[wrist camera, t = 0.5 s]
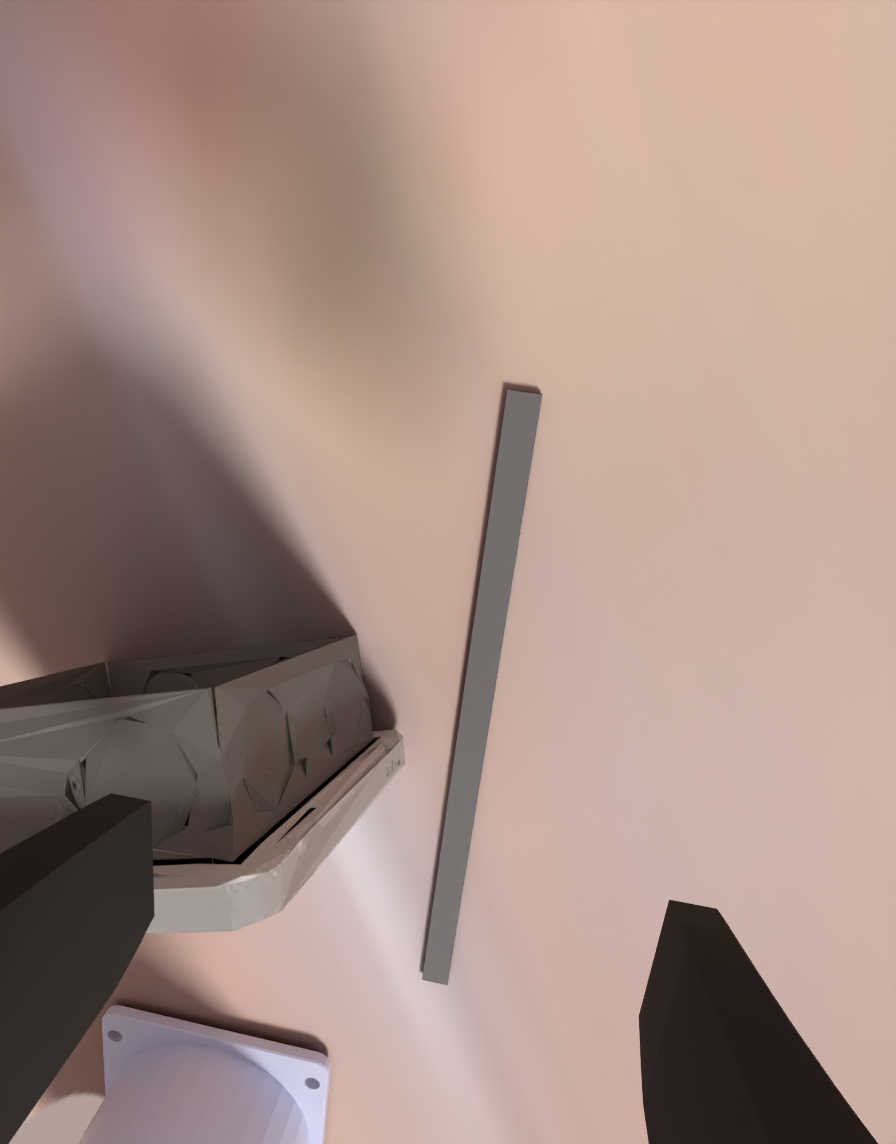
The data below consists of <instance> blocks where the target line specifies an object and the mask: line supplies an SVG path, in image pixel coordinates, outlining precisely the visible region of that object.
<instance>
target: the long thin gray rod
mask: <svg viewBox="0 0 896 1144" xmlns="http://www.w3.org/2000/svg"><path fill="white" fill-rule="evenodd" d="M541 398H542V394H537V393H530V392H522V391H515V390H507V396H506V403H505V409H504V416H503V423H502V430H501V437H500V444H499V451H498V458H497V465H496V472H495V479H494V486H493V492H492V499H491V506H490V513H489V520H488V527H487V534H486V541H485V548H484V555H483V562H482V569H481V575H480V582H479V589H478V596H477V603H476V610H475V617H474V624H473V631H472V638H471V645H470V652H469V658H468V665H467V672H466V679H465V686H464V693H463V700H462V707H461V714H460V721H459V728H458V735H457V741H456V748H455V755H454V762H453V769H452V776H451V783H450V790H449V797H448V804H447V811H446V818H445V824H444V831H443V838H442V845H441V852H440V859H439V866H438V873H437V880H436V887H435V894H434V901H433V907H432V914H431V921H430V928H429V935H428V942H427V949H426V956H425V963H424V970H423V977H422V980H426V981H431V982H435V983H440V984H444V985H447V984H448V978H449V972H450V966H451V959H452V953H453V947H454V941H455V934H456V928H457V922H458V916H459V910H460V903H461V897H462V891H463V885H464V878H465V872H466V866H467V860H468V853H469V847H470V841H471V835H472V829H473V822H474V816H475V810H476V804H477V797H478V791H479V785H480V779H481V772H482V766H483V760H484V754H485V747H486V741H487V735H488V729H489V723H490V716H491V710H492V704H493V698H494V691H495V685H496V679H497V673H498V666H499V660H500V654H501V648H502V642H503V635H504V629H505V623H506V617H507V610H508V604H509V598H510V592H511V585H512V579H513V573H514V567H515V561H516V554H517V548H518V542H519V536H520V529H521V523H522V517H523V511H524V504H525V498H526V492H527V486H528V479H529V473H530V467H531V461H532V455H533V448H534V442H535V436H536V430H537V423H538V417H539V411H540V405H541Z"/></svg>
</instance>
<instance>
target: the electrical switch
mask: <svg viewBox="0 0 896 1144" xmlns="http://www.w3.org/2000/svg"><path fill="white" fill-rule="evenodd" d="M281 657H289V658H286V659H283V660H280V659H281ZM279 660H280V661H279ZM108 667H109V677H110V687H111V694H110V689H109V683H108V678H107V672H106V667H105V662H103V663H98V664H94V665H90V666H86V667H81V668H77V669H73V670H69V671H64V672H60V673H56V674H52V675H47V676H43V677H39V678H35V679H30V680H26V681H22V682H18V683H13V684H9V685H5V686H1V687H0V853H2V852H4V851H6V850H8V849H9V848H11V847H13V846H15V845H17V844H19V843H20V842H22V841H24V840H26V839H27V838H29V837H31V836H33V835H35V834H36V833H38V832H40V831H42V830H44V829H45V828H47V827H49V826H51V825H53V824H54V823H56V822H58V821H60V820H62V819H63V818H65V817H67V816H69V815H71V814H72V813H74V812H76V811H78V810H80V809H82V808H83V807H85V806H87V805H89V804H91V803H93V802H95V801H97V800H99V799H101V798H103V797H105V796H107V795H109V794H111V793H112V794H117V795H122V796H128V797H133V798H138V799H143V800H149V801H151V813H152V847H153V880H154V914H155V916H154V918H153V920H152V922H151V924H150V925H149V927H148V929H147V931H146V933H145V934H150V933H186V932H222V931H236V930H238V929H241V928H243V927H246V926H248V925H251V924H253V923H256V922H258V921H261V920H263V919H266V918H268V917H270V916H272V915H274V914H276V913H278V912H280V911H282V910H283V909H284V907H285V906H286V905H287V904H288V903H289V901H290V900H291V899H292V898H293V897H294V895H295V894H296V893H297V892H298V891H299V890H300V888H301V887H302V886H303V885H304V884H305V882H306V881H307V880H308V879H309V878H310V877H311V875H312V874H313V873H314V872H315V871H316V869H317V868H318V867H319V866H320V865H321V864H322V862H323V861H324V860H325V859H326V858H327V856H328V855H329V854H330V853H331V852H332V850H333V849H334V848H335V847H336V846H337V845H338V843H339V842H340V841H341V840H342V839H343V837H344V836H345V835H346V834H347V833H348V832H349V830H350V829H351V828H352V827H353V826H354V824H355V823H356V822H357V821H358V820H359V819H360V817H361V816H362V815H363V814H364V813H365V811H366V810H367V809H368V808H369V807H370V805H371V804H372V803H373V802H374V801H375V800H376V798H377V797H378V796H379V795H380V794H381V792H382V791H383V790H384V789H385V788H386V787H387V785H388V784H389V783H390V782H391V781H392V779H393V778H394V777H395V776H396V775H397V774H398V772H399V771H400V770H401V769H402V768H403V767H404V765H405V759H404V747H403V736H402V735H401V734H400V733H399V732H398V731H397V730H396V729H393V730H381V731H372V723H371V713H370V704H369V696H368V693H367V691H366V688H365V685H364V682H363V679H362V672H361V664H360V656H359V648H358V640H357V634H356V635H353V636H347V637H338V638H329V639H320V640H311V641H302V642H293V643H284V644H275V645H266V646H257V647H248V648H239V649H230V650H221V651H212V652H203V653H194V654H186V655H177V656H168V657H159V658H150V659H141V660H132V661H123V662H114V663H110V664H108ZM159 671H161V672H159ZM158 672H159V673H158ZM157 673H158V674H157ZM182 673H190V675H191V676H192V677H193V678H192V677H189V676H187V675H184V674H182ZM156 674H157V675H156ZM81 684H82V685H83V686H84V687H83V686H82V685H81ZM199 686H200V687H201V689H200V687H199Z"/></svg>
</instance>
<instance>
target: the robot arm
mask: <svg viewBox="0 0 896 1144" xmlns="http://www.w3.org/2000/svg"><path fill="white" fill-rule="evenodd" d="M154 916H155V914H154V880H153V847H152V813H151V801H149V800H143V799H138V798H133V797H128V796H122V795H117V794H112V793H111V794H109V795H107V796H105V797H103V798H101V799H99V800H97V801H95V802H93V803H91V804H89V805H87V806H85V807H83V808H82V809H80V810H78V811H76V812H74V813H72V814H71V815H69V816H67V817H65V818H63V819H62V820H60V821H58V822H56V823H54V824H53V825H51V826H49V827H47V828H45V829H44V830H42V831H40V832H38V833H36V834H35V835H33V836H31V837H29V838H27V839H26V840H24V841H22V842H20V843H19V844H17V845H15V846H13V847H11V848H9V849H8V850H6V851H4V852H2V853H0V1144H9V1142H10V1141H11V1139H12V1138H13V1136H14V1135H15V1133H16V1132H17V1131H18V1129H19V1128H20V1126H21V1125H22V1123H23V1122H24V1121H25V1119H26V1118H27V1116H28V1115H29V1113H30V1112H31V1110H32V1109H33V1108H34V1106H35V1105H36V1103H37V1102H38V1100H39V1099H40V1098H41V1096H42V1095H43V1093H44V1092H45V1090H46V1089H47V1087H48V1086H49V1085H50V1083H51V1082H52V1080H53V1079H54V1077H55V1076H56V1075H57V1073H58V1072H59V1070H60V1069H61V1067H62V1066H63V1064H64V1063H65V1062H66V1060H67V1059H68V1057H69V1056H70V1054H71V1053H72V1052H73V1050H74V1049H75V1047H76V1046H77V1044H78V1043H79V1041H80V1040H81V1038H82V1037H83V1036H84V1034H85V1033H86V1031H87V1030H88V1028H89V1027H90V1025H91V1024H92V1022H93V1021H94V1019H95V1018H96V1017H97V1015H98V1014H99V1012H100V1011H101V1009H102V1008H103V1006H104V1005H105V1003H106V1002H107V1000H108V999H109V997H110V996H111V994H112V993H113V991H114V990H115V988H116V987H117V985H118V983H119V981H120V980H121V978H122V976H123V974H124V972H125V971H126V969H127V967H128V965H129V963H130V962H131V960H132V958H133V956H134V954H135V952H136V950H137V949H138V947H139V945H140V943H141V941H142V939H143V937H144V935H145V933H146V931H147V929H148V927H149V925H150V924H151V922H152V920H153V918H154ZM639 1031H640V1055H641V1075H642V1092H643V1106H644V1113H645V1120H646V1127H647V1134H648V1141H649V1144H878V1143H877V1142H876V1140H875V1139H874V1138H873V1136H872V1135H871V1134H870V1132H869V1131H868V1130H867V1128H866V1127H865V1126H864V1124H863V1123H862V1122H861V1120H860V1119H859V1118H858V1116H857V1115H856V1114H855V1112H854V1111H853V1109H852V1108H851V1107H850V1105H849V1104H848V1103H847V1101H846V1100H845V1098H844V1097H843V1096H842V1094H841V1093H840V1092H839V1090H838V1089H837V1088H836V1086H835V1085H834V1083H833V1082H832V1080H831V1079H830V1077H829V1076H828V1075H827V1073H826V1072H825V1070H824V1069H823V1067H822V1066H821V1065H820V1063H819V1062H818V1060H817V1059H816V1057H815V1056H814V1055H813V1053H812V1052H811V1050H810V1049H809V1047H808V1046H807V1045H806V1043H805V1042H804V1040H803V1039H802V1037H801V1036H800V1035H799V1033H798V1032H797V1030H796V1029H795V1027H794V1026H793V1024H792V1023H791V1021H790V1020H789V1018H788V1017H787V1015H786V1014H785V1012H784V1011H783V1009H782V1008H781V1006H780V1005H779V1003H778V1002H777V1000H776V999H775V997H774V996H773V994H772V993H771V991H770V990H769V988H768V987H767V985H766V983H765V982H764V980H763V979H762V977H761V976H760V974H759V973H758V971H757V970H756V968H755V966H754V965H753V963H752V962H751V960H750V959H749V957H748V956H747V954H746V952H745V951H744V949H743V948H742V946H741V945H740V943H739V942H738V940H737V938H736V937H735V935H734V934H733V932H732V931H731V929H730V927H729V926H728V924H727V923H726V921H725V920H724V918H723V917H722V915H721V914H720V913H719V911H718V910H717V909H715V908H710V907H704V906H699V905H694V904H689V903H683V902H678V901H673V900H669V903H668V906H667V910H666V914H665V918H664V922H663V926H662V929H661V933H660V937H659V941H658V945H657V949H656V953H655V956H654V960H653V964H652V968H651V972H650V976H649V979H648V983H647V987H646V991H645V995H644V999H643V1003H642V1006H641V1010H640V1014H639ZM102 1038H103V1058H104V1077H105V1099H104V1101H103V1102H102V1104H101V1106H100V1108H99V1109H98V1111H97V1113H96V1115H95V1116H94V1118H93V1119H92V1121H91V1123H90V1124H89V1126H88V1128H87V1130H86V1131H85V1133H84V1135H83V1136H82V1138H81V1140H80V1141H79V1143H78V1144H324V1133H325V1123H326V1112H327V1101H328V1091H329V1080H330V1070H331V1064H330V1061H329V1059H328V1058H327V1057H326V1056H325V1055H324V1054H322V1053H320V1052H317V1051H312V1050H308V1049H304V1048H300V1047H295V1046H291V1045H287V1044H283V1043H278V1042H274V1041H270V1040H266V1039H261V1038H257V1037H253V1036H249V1035H244V1034H240V1033H236V1032H231V1031H227V1030H223V1029H219V1028H214V1027H210V1026H206V1025H202V1024H197V1023H193V1022H189V1021H185V1020H180V1019H176V1018H172V1017H168V1016H163V1015H159V1014H155V1013H151V1012H146V1011H142V1010H138V1009H134V1008H129V1007H125V1006H121V1005H114V1006H111V1007H110V1008H109V1009H108V1010H107V1011H106V1013H105V1014H104V1016H103V1017H102Z"/></svg>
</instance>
